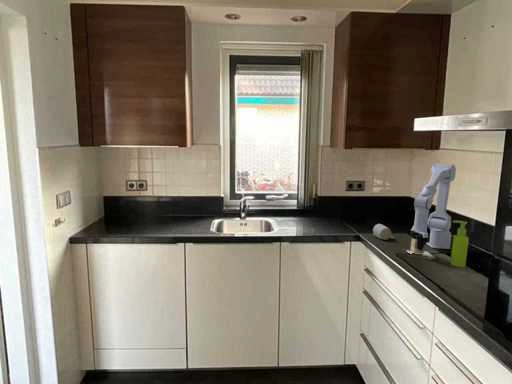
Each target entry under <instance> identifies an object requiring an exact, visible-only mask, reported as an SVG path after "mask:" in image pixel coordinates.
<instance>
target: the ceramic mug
mask: <svg viewBox="0 0 512 384" xmlns="http://www.w3.org/2000/svg"><path fill="white" fill-rule="evenodd" d="M372 234H373V236H375V237H376V238H378V239H381V240H382V239H383V241H387V240H389V239H392V240H393V239H394V238H395V236H393V235H392V231H391V229H390V228H389V227H387V226H385V224H381V223H377V224H375V225H374V226H373V229H372Z"/></svg>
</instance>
